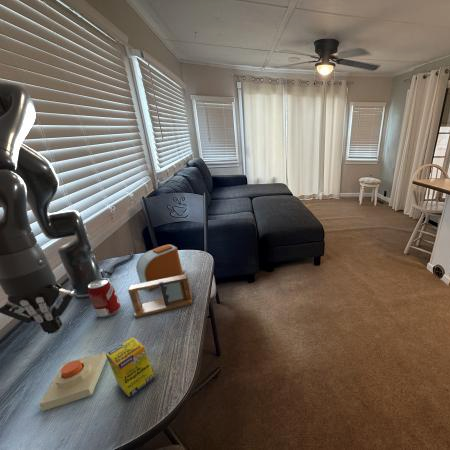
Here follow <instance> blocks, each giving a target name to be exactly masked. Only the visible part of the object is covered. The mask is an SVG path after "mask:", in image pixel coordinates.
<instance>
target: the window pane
mask: <svg viewBox="0 0 450 450" xmlns="http://www.w3.org/2000/svg"><path fill="white" fill-rule="evenodd" d="M159 285H160V286H159V288H160V291H161V296H162V299H164V303H165V306H169V302H172V301H176V300H180V299H185V298H186V296H185V292H184V287H183V283H182V281H181V282H177V283H172V284H167V285H164V283H163V281H161V282H159Z"/></svg>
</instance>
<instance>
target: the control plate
mask: <svg viewBox="0 0 450 450" xmlns="http://www.w3.org/2000/svg"><path fill="white" fill-rule="evenodd" d="M77 360H79V361H80V362H81V364H82V366H83V368H82V370H81V371H80V372H79V373H78V374H76V375H74V376H73V377H70V378H64V377H63V375H62V373H61V369H62V368H63V367H64V366H65V365H66V364H68V363H69V362H70V361H68V362H64V363H62V365H61V367H60V368H59V370H58V372H57V373H56V374H55V376H54V378H53V380H52V382H51V384H50V386H49V387H48V388H47V390H46V392H45V394H44V396H43V397H42V399H41V400H40V402H39V407H40V408H41V410H42V411H47V410H50V409H53V408H56V407H59V406H62V405H66V404H69V403H71V402H75V401H79V400H81V399H84V398H87V397H91V396H93V394H94V391H95V388H96V386H97V384H98V381H99V378H100V376H101V374H102V371H103V369H104V366H105V365H106V362H107V360H108V359H107V356H106V352H105V351H104V352H100V353H97V354H93V355H88V356H86V357H83V358H79V359H77Z"/></svg>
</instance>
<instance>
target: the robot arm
mask: <svg viewBox="0 0 450 450" xmlns="http://www.w3.org/2000/svg"><path fill="white" fill-rule="evenodd" d="M35 120H36V108H35V104H34V102H33V99H32V96H30V94H29V93H28V91H27V90H26V89H25V88H24V87H22V86H20V85H18V84H15V83H11V82H3V81H0V208H2V210H3V213H2V216H0V287H1V289H2V291H3V292H4V294H5V295H6V296H7V301H6V302H5V303H4V304H2V305H1V306H0V314H2V315H4V316H7V317H10V318H13V319H15V320H17V321H20V322H23V323H26V324H30V323H32V322H36V323H38V324H39V325H40V326H41V328H42V330H43V332H44V333H47V335H51V334H56V333H58V332H59V331H60V330H61V327H62V326H63V321H62V319H61V316H62V315H63V314H64V312H65V311H66V310H67V308H68V306H69V305H70V303H71V302H72V301H73V299H74V297H75V296H76V298H81V299H83V298H88V297H89V294H88V289H89V288H88V285H89V284H90V283H92V282H94V281H96V280H99V279H104V278H106V276H107V275H111V274H113V273H114V268H115V267H117V266H118V265H121V264H124V263H125V262H128V261H130V260H131V259H132V257H133V255H134V254H135V253H134V252H130V253H129V256H128V258H126V259H124V260H121V261H119V262H117V263H115V264H113V265H112V266H111V267H110V270H109V271H108V270H105V269H104V268H100V266H99V264H98V261H97V259H96V256H95V254H94V251H93V248H92V245H91V243H90V240H89V238H88V234H87V232H86V227H85V224H84V221H83V218H82V216H81V214H80V212H79V211H77V210H75V209H69V210H64V211H57V212H51V213H50V212H49V208H50V205H51V202H52V200H53V199H54V197H55V195H56V193H57V192H58V190H59V186H60V181H59V177H58V176H57V173H56V172H55V169H54V167H53V166H52V164H51V162H50V161H49V160H48V159H47V158H45V157H44V156H42V155H41V154H40V153H39V152H37V151H36V150H34V149H33V148H30V147H29V146H27V145H26V144H24V143H23V141H24V140H25V138H26V137H27V135H28V134H29V132H30V130H31V128H32V127H33V125H34V123H35ZM28 207H29V208H30V210H31V213H32V215H33V216H34V219H35V220H36V222H37V225H38V226H39V229H40V231H41V232H42V234H43V235H44V237H45V238H47V239H49V240H59V239H64V238H69V237H73V236H75V237H74V238H73V239H72V240H70V241H69V242H67V243H65V244H63V245H61V246H60V247H58V249H57V254H58V257H59V259H60V261H61V264H62V266H63V268H64V270H65V272H66V275H67V277H68V280H69V282H70V284H71V286H72V289H70V290H69V289H64V288H63V286H62V285H61V284H59V283H58V282H57V278H56V275H55V273H54V271H53V269H52V267H51V264H50V263H49V260H48V258H47V255H46V253H45V252H44V250H43V248H42V247H41V246H40V244H39V242H38V241H37V238H36V236H35V234H34V232H33V229H32V227H31V225H30V220H29V216H28ZM131 255H132V256H131ZM59 296H60V297H59ZM58 297H59V299H60V301H61V302H60V304H59V306H57V304H58V302H57V299H58Z"/></svg>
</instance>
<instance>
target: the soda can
mask: <svg viewBox="0 0 450 450" xmlns="http://www.w3.org/2000/svg"><path fill="white" fill-rule="evenodd" d="M88 288H89V289H88V294H89V296H88V297H89V299H90V302H91V304H92V306H93V309H94V311H95V314H96V316H97V317H98V318H106V317H109V316H112V315H114V314H115V313H117V312H118V311H120V309H121V303H120V300H119V297H118V295H117V291H116V289H115V286H114V283H113V282H112V281H110V279H109V278H106V277H104V278H103V279H99V280H96V281H94V282H92V283H90V284H89V285H88Z"/></svg>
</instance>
